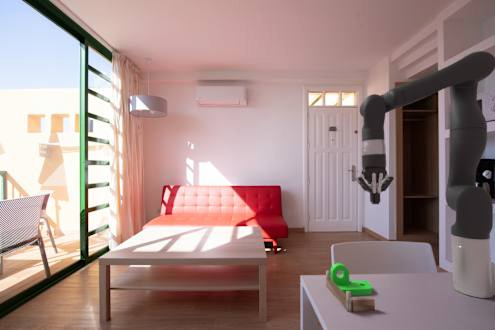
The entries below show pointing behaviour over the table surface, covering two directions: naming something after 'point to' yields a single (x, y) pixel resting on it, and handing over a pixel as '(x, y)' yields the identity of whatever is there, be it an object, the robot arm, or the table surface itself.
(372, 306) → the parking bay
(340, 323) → the table surface
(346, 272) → the mechanical part
